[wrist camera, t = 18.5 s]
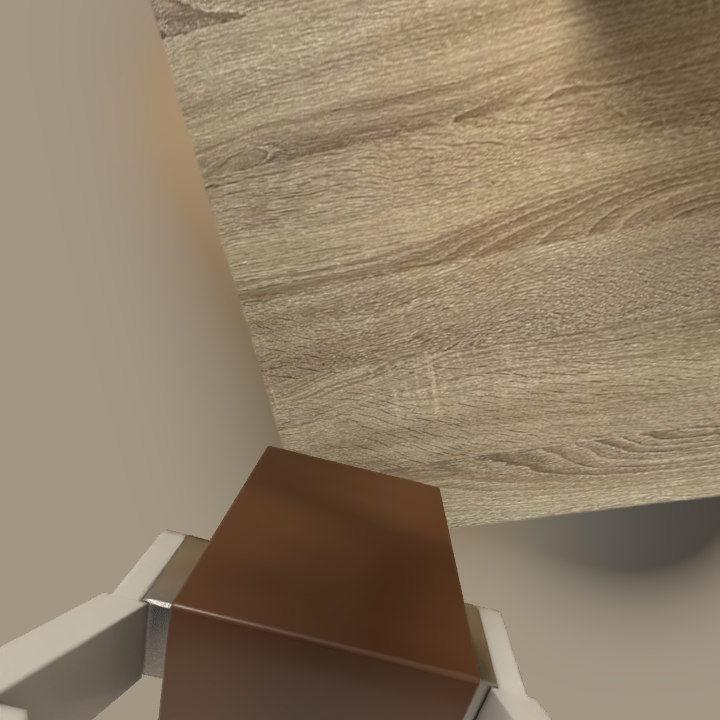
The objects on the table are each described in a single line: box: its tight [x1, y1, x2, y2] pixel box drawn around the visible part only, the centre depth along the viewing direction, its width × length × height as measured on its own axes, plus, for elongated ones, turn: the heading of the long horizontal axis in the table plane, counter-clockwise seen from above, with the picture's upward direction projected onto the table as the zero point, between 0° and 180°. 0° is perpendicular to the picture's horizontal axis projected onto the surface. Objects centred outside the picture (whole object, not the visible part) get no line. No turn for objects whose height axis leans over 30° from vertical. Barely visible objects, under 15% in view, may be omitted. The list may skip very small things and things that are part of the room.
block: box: [158, 446, 481, 720], centre depth 8 cm, size 4×4×4 cm
